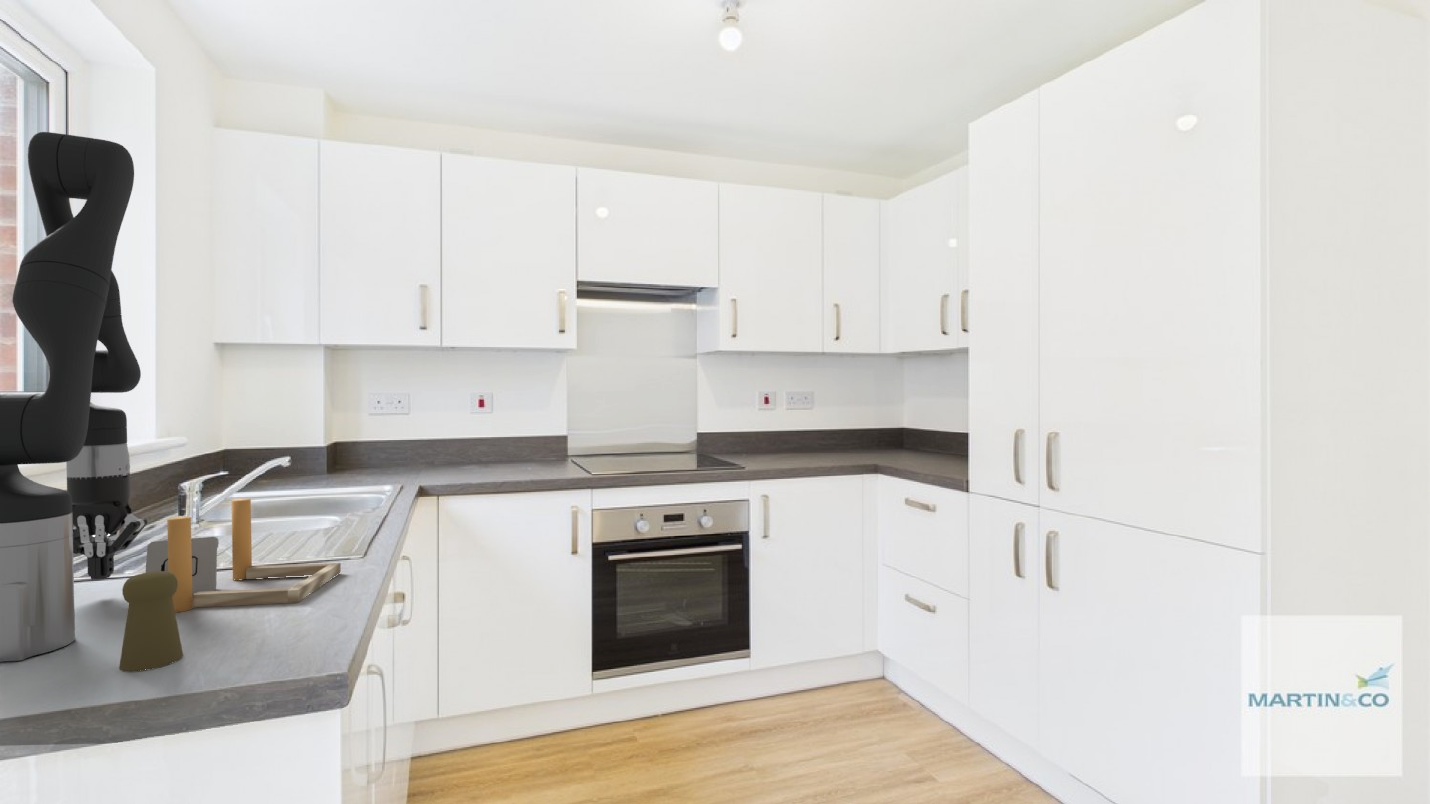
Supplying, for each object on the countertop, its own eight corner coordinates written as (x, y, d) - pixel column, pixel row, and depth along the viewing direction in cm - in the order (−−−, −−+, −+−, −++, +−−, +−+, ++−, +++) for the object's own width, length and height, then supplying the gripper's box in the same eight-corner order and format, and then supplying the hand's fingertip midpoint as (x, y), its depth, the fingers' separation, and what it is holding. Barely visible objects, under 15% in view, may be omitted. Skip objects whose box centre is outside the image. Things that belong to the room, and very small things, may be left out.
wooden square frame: (298, 602, 105) (297, 589, 105) (193, 607, 102) (192, 594, 102) (340, 573, 121) (340, 562, 121) (250, 577, 119) (250, 566, 119)
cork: (195, 651, 85) (193, 566, 85) (157, 671, 79) (155, 580, 79) (147, 652, 85) (145, 567, 85) (105, 672, 79) (103, 580, 79)
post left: (185, 612, 100) (183, 520, 100) (164, 613, 100) (162, 520, 100) (196, 606, 103) (195, 516, 103) (176, 607, 103) (175, 517, 102)
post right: (246, 580, 117) (245, 501, 117) (229, 580, 117) (227, 501, 116) (255, 575, 120) (253, 498, 120) (238, 576, 119) (236, 499, 119)
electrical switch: (142, 602, 105) (143, 543, 106) (153, 596, 110) (154, 539, 110) (214, 594, 109) (215, 537, 110) (222, 589, 114) (222, 534, 114)
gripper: (32, 476, 103) (34, 587, 103) (127, 474, 105) (130, 583, 105) (71, 470, 110) (73, 574, 110) (160, 468, 112) (162, 570, 112)
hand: (101, 578), depth 108 cm, fingers closed
